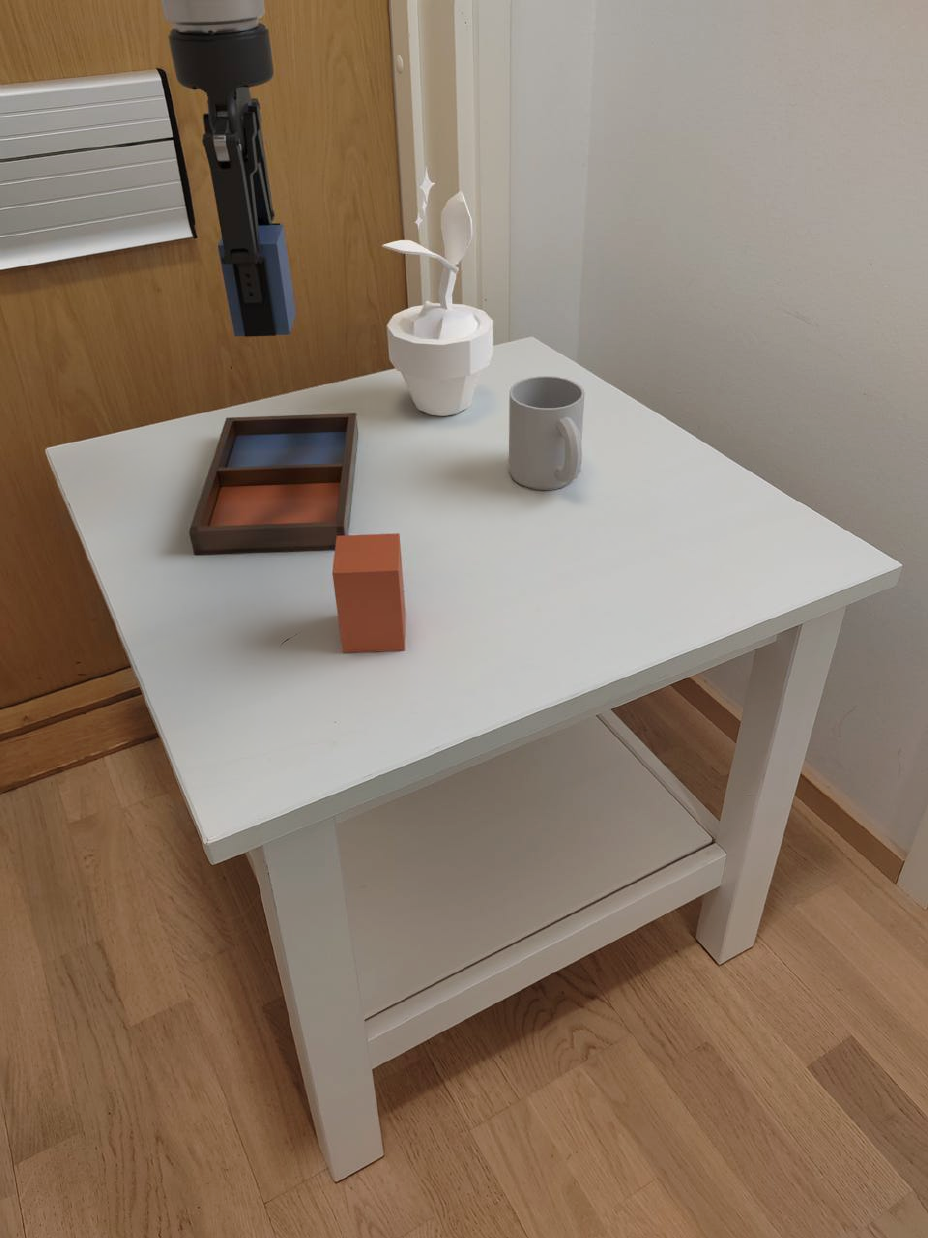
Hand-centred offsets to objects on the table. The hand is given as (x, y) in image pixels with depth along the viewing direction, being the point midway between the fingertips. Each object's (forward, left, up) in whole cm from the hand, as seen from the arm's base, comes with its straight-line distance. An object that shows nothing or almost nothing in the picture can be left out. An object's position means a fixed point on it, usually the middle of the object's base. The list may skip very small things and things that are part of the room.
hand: (264, 321), depth 87 cm
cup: (+27, -2, -17) cm, 32 cm away
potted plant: (+16, +15, -17) cm, 28 cm away
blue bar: (0, 0, 0) cm, 0 cm away
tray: (0, -2, -17) cm, 17 cm away
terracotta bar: (+10, -25, -17) cm, 31 cm away
